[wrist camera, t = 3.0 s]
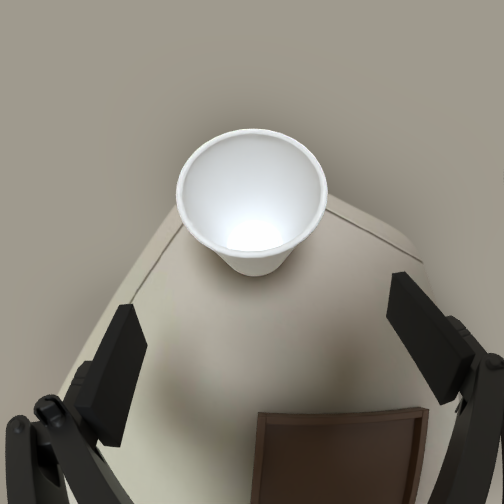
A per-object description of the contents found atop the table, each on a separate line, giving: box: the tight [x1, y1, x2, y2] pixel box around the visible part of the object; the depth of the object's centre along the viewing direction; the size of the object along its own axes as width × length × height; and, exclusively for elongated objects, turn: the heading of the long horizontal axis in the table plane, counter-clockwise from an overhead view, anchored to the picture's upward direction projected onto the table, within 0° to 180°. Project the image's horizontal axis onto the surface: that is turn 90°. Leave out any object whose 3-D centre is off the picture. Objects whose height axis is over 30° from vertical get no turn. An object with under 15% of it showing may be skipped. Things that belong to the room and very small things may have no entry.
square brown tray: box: [251, 407, 429, 504], centre depth 21 cm, size 15×15×2 cm
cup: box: [176, 129, 328, 276], centre depth 25 cm, size 10×10×11 cm
